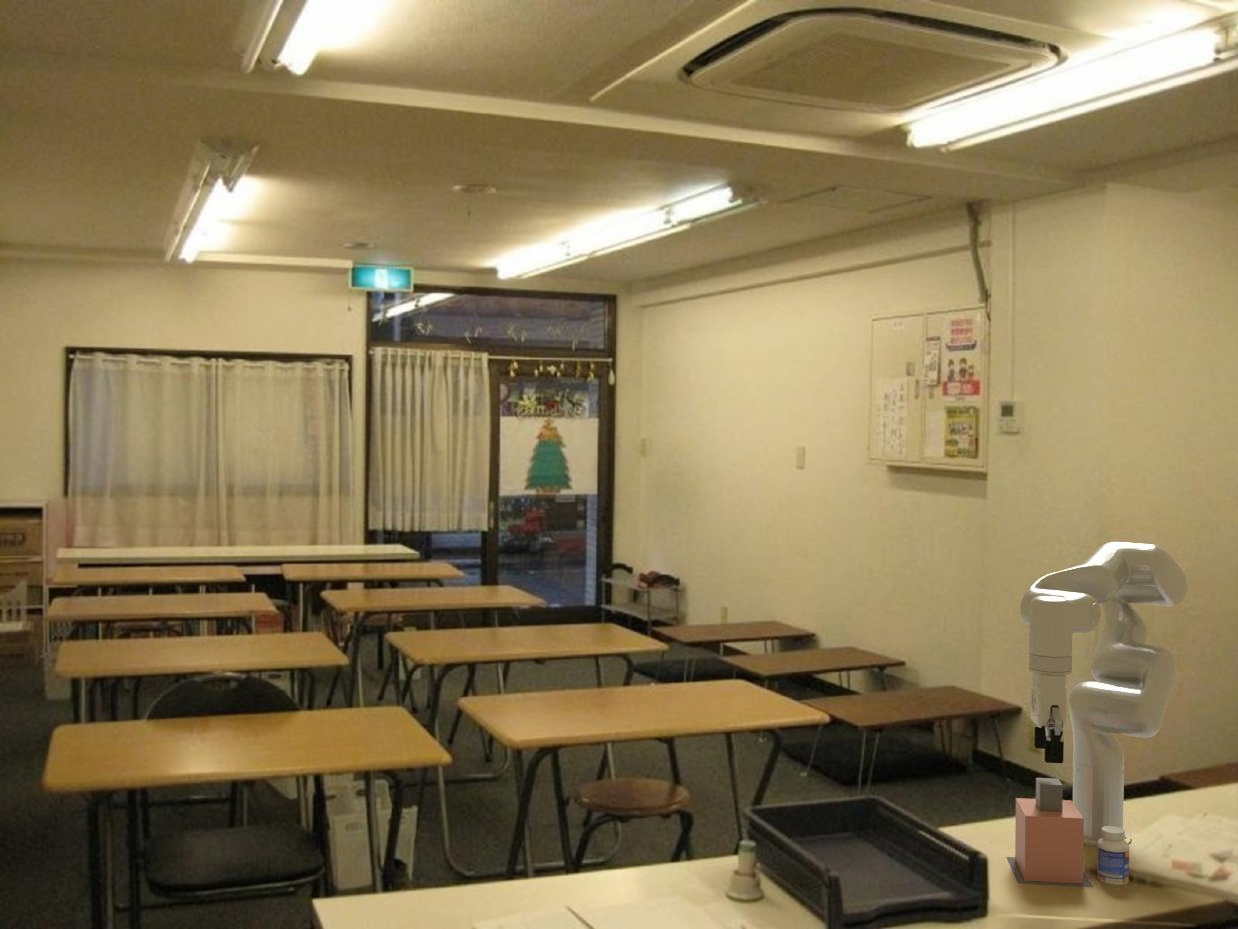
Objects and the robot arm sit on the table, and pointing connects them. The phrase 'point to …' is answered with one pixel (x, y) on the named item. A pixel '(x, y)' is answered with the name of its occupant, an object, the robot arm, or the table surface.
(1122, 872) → the pill bottle
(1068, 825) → the cover
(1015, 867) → the mat
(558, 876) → the table surface
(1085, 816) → the robot arm
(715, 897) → the table surface
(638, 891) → the table surface
